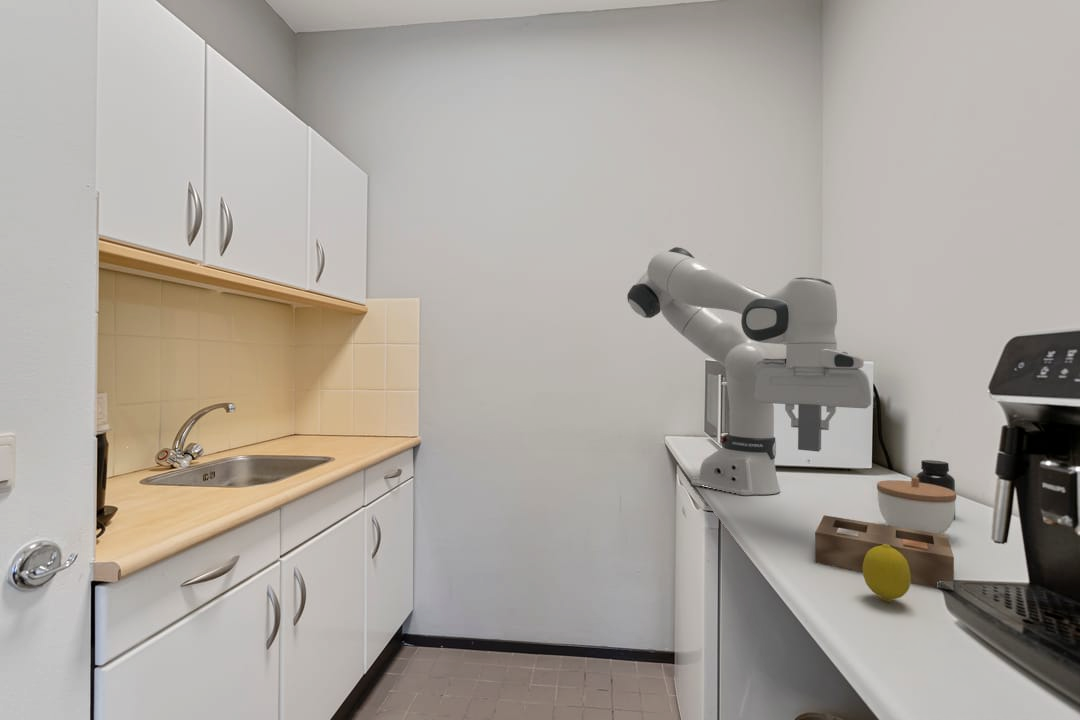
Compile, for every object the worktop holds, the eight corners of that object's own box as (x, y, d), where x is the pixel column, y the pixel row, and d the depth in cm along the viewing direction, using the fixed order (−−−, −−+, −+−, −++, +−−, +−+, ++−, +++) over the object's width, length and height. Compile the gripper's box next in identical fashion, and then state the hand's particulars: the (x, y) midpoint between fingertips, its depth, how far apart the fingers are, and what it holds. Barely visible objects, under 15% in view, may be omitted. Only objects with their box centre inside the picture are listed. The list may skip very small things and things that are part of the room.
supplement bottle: (941, 511, 114) (941, 459, 115) (963, 520, 108) (963, 465, 108) (909, 510, 115) (909, 458, 115) (929, 519, 108) (929, 464, 108)
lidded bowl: (870, 532, 99) (870, 477, 99) (883, 519, 108) (884, 468, 108) (952, 550, 90) (952, 488, 90) (959, 533, 99) (959, 478, 99)
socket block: (815, 561, 84) (815, 530, 84) (823, 541, 94) (824, 513, 94) (953, 591, 73) (953, 555, 73) (947, 565, 83) (947, 533, 83)
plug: (798, 449, 98) (798, 403, 98) (800, 447, 101) (801, 402, 101) (818, 451, 96) (819, 405, 96) (821, 449, 99) (821, 403, 99)
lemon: (853, 592, 72) (853, 537, 73) (889, 592, 73) (890, 537, 73) (882, 611, 67) (882, 551, 67) (921, 610, 67) (921, 551, 67)
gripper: (751, 358, 102) (750, 425, 102) (870, 358, 91) (869, 435, 90) (758, 358, 108) (757, 422, 107) (872, 359, 96) (871, 431, 96)
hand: (809, 428), depth 99 cm, fingers closed on plug, 4 cm apart
